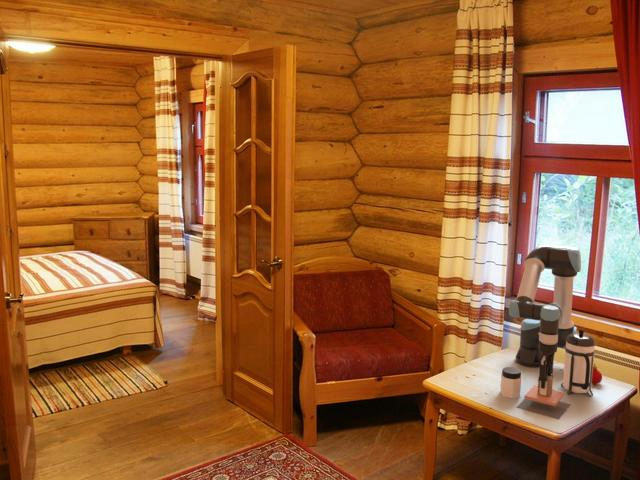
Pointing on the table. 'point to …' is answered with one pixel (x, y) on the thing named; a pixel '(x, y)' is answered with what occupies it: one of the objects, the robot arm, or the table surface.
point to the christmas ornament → (596, 375)
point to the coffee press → (579, 363)
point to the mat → (544, 408)
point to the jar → (510, 382)
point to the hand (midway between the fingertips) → (544, 392)
